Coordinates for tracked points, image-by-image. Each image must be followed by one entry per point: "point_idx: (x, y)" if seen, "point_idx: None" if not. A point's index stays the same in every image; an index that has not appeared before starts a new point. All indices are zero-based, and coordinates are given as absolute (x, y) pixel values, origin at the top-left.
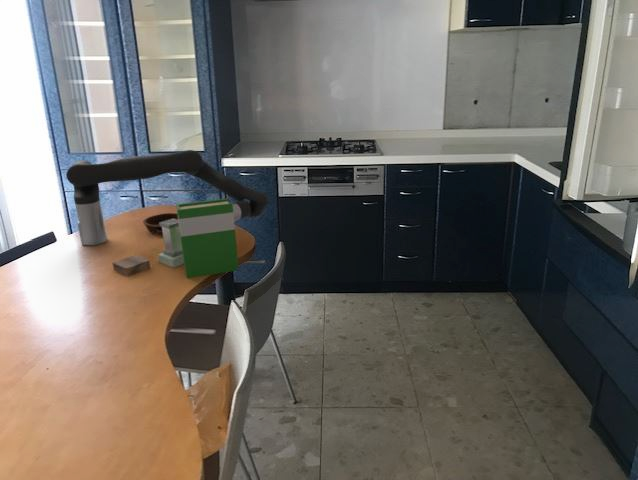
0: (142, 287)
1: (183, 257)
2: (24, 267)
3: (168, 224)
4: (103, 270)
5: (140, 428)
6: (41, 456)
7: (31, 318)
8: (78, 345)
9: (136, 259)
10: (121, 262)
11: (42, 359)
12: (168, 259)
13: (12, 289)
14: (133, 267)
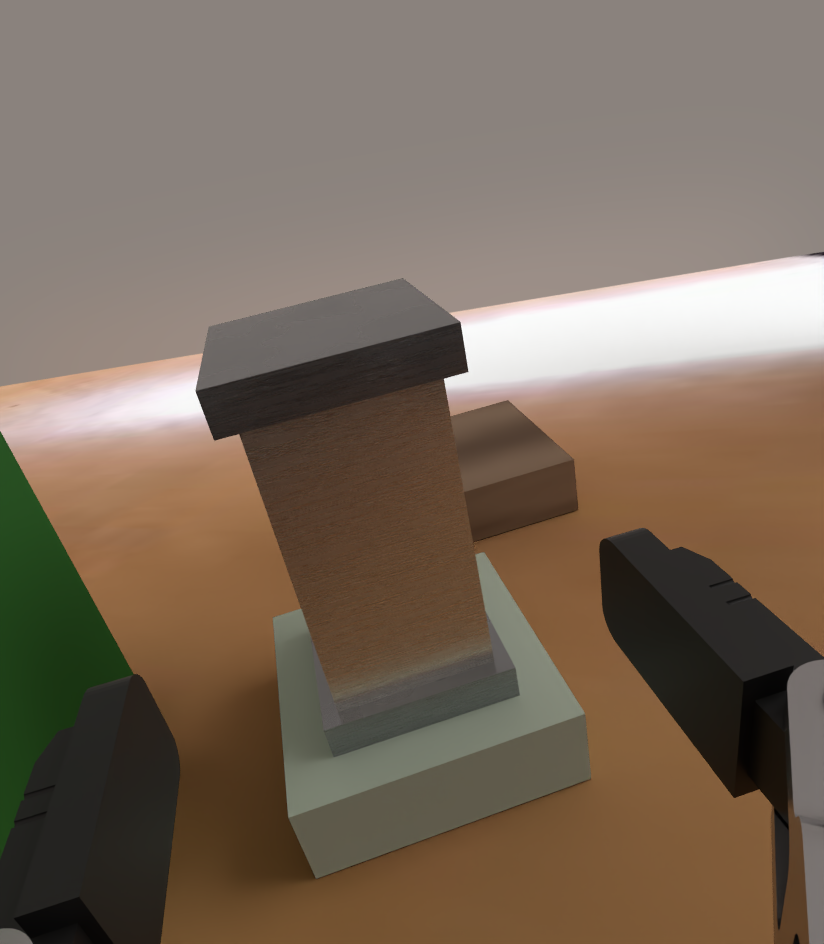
0: (188, 524)
1: (107, 640)
2: (740, 282)
3: (251, 321)
4: (545, 418)
5: None
6: None
7: None
8: (29, 427)
9: (473, 464)
10: (479, 423)
11: (60, 396)
12: None
13: (531, 304)
14: None
